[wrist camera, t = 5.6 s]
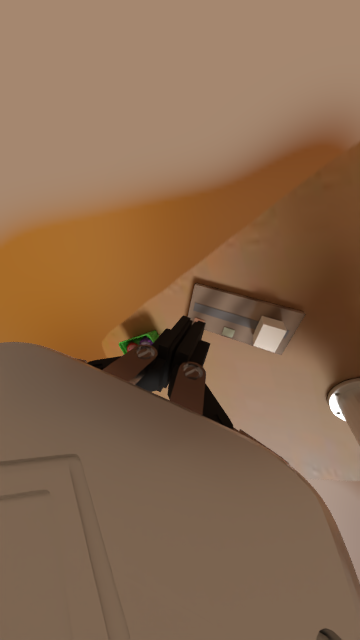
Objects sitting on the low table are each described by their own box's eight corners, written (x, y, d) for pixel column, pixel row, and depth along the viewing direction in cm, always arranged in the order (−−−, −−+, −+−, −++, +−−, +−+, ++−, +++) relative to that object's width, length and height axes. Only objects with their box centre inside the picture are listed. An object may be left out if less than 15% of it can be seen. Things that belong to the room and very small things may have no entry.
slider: (282, 321, 34) (286, 330, 30) (271, 342, 36) (274, 352, 33) (261, 315, 34) (263, 323, 31) (252, 335, 37) (253, 345, 33)
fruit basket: (157, 324, 47) (134, 346, 37) (171, 351, 49) (153, 378, 39) (128, 334, 52) (101, 356, 42) (142, 358, 54) (119, 384, 45)
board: (303, 311, 33) (305, 314, 32) (280, 351, 38) (281, 355, 37) (196, 282, 38) (194, 284, 37) (187, 321, 43) (185, 324, 41)
